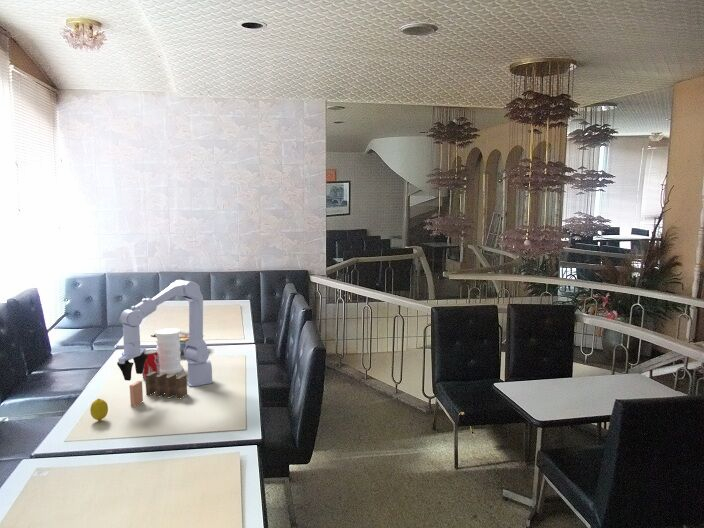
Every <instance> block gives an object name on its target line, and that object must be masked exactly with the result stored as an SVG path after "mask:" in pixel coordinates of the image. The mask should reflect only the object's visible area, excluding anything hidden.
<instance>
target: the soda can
mask: <svg viewBox="0 0 704 528" xmlns="http://www.w3.org/2000/svg"><path fill="white" fill-rule="evenodd" d="M144 354H147V355H148V357H147V359H146V361H145V364H144V368H143V372H142V374H141V375H142V379H144V380H145V381H146V377H145V375H147V374H149V373H151V372H157V375H159V374H160V364H159V354H158V353H157V349H146V353H144Z"/></svg>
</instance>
